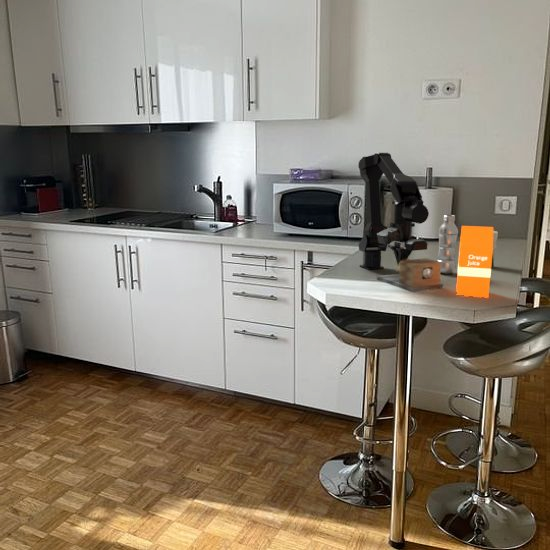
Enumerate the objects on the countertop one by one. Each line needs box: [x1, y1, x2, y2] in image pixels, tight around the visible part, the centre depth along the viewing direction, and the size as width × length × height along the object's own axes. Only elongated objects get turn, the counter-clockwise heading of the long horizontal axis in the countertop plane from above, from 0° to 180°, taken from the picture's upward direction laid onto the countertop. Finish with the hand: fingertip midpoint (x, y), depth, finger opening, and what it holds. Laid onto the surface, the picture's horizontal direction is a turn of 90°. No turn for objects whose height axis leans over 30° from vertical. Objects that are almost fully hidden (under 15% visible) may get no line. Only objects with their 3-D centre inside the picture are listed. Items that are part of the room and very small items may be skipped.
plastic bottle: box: [436, 214, 459, 275], centre depth 187 cm, size 6×7×20 cm
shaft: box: [397, 258, 432, 278], centre depth 171 cm, size 12×5×5 cm, turn 25°
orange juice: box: [455, 225, 494, 299], centre depth 160 cm, size 8×9×20 cm
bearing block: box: [376, 257, 444, 292], centre depth 174 cm, size 18×12×8 cm, turn 25°
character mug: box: [491, 230, 499, 268], centre depth 199 cm, size 11×7×13 cm, turn 3°
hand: (400, 267), depth 178 cm, fingers closed
